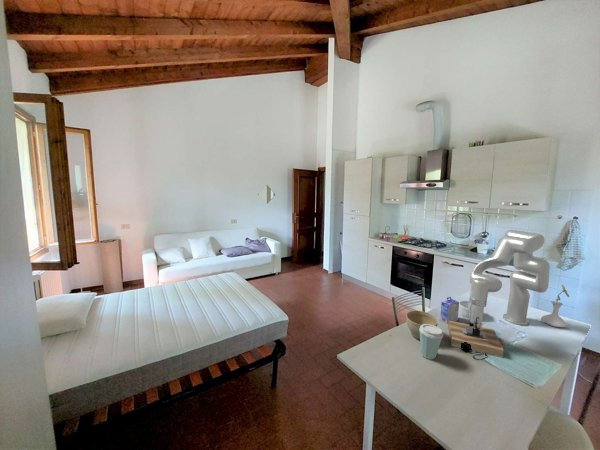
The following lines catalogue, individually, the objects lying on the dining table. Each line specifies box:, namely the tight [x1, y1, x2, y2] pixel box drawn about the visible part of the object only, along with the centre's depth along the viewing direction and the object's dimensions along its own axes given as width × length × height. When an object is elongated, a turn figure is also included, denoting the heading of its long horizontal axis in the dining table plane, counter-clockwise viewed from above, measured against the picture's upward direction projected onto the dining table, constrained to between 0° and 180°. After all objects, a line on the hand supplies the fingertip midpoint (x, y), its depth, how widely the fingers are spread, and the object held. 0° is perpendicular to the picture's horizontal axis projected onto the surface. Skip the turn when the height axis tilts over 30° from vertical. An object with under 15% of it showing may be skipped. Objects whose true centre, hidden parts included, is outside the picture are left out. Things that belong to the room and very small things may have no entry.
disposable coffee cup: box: [419, 324, 444, 360], centre depth 128 cm, size 11×11×15 cm
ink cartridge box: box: [439, 296, 460, 324], centre depth 161 cm, size 10×6×14 cm, turn 115°
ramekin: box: [458, 300, 470, 319], centre depth 168 cm, size 13×13×7 cm
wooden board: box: [447, 321, 505, 359], centre depth 141 cm, size 20×22×4 cm
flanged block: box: [462, 328, 487, 339], centre depth 141 cm, size 5×10×5 cm, turn 65°
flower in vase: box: [540, 284, 570, 328], centre depth 157 cm, size 13×11×25 cm
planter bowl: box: [405, 310, 439, 340], centre depth 145 cm, size 16×16×11 cm
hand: (474, 330), depth 140 cm, fingers open, 9 cm apart
